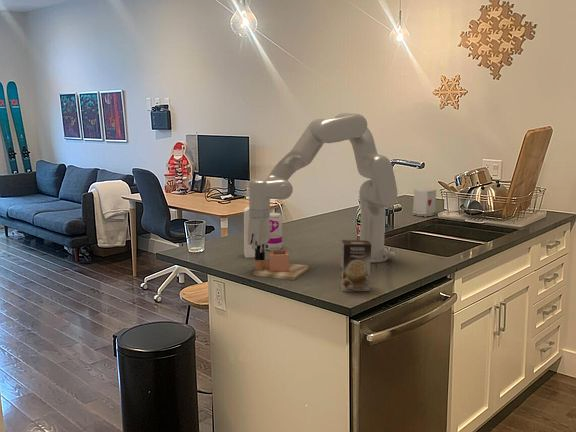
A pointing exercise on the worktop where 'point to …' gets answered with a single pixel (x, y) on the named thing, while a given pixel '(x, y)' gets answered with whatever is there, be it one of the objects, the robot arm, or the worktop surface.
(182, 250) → the worktop surface
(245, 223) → the milk
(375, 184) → the robot arm
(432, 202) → the supplement box
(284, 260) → the square nut with handle
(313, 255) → the worktop surface
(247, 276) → the worktop surface
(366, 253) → the coffee box
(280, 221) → the supplement can
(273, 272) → the post base
